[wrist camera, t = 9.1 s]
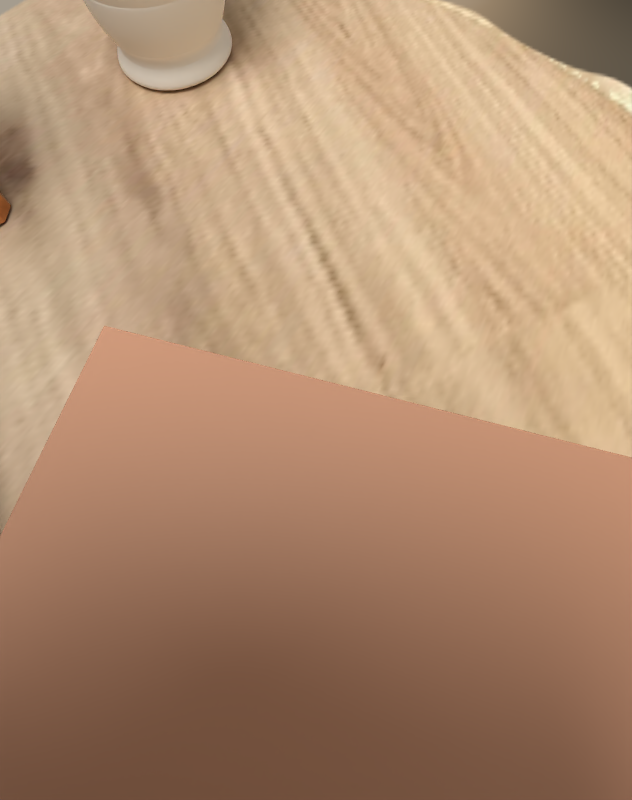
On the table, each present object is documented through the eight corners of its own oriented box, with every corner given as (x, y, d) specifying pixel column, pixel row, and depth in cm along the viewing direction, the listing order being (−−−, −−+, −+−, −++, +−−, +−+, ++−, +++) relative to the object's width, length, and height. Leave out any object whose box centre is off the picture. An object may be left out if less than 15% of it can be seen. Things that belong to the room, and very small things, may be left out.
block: (383, 719, 13) (639, 1537, 2) (221, 663, 14) (-257, 1052, 3) (419, 545, 15) (672, 467, 4) (272, 502, 16) (104, 326, 4)
